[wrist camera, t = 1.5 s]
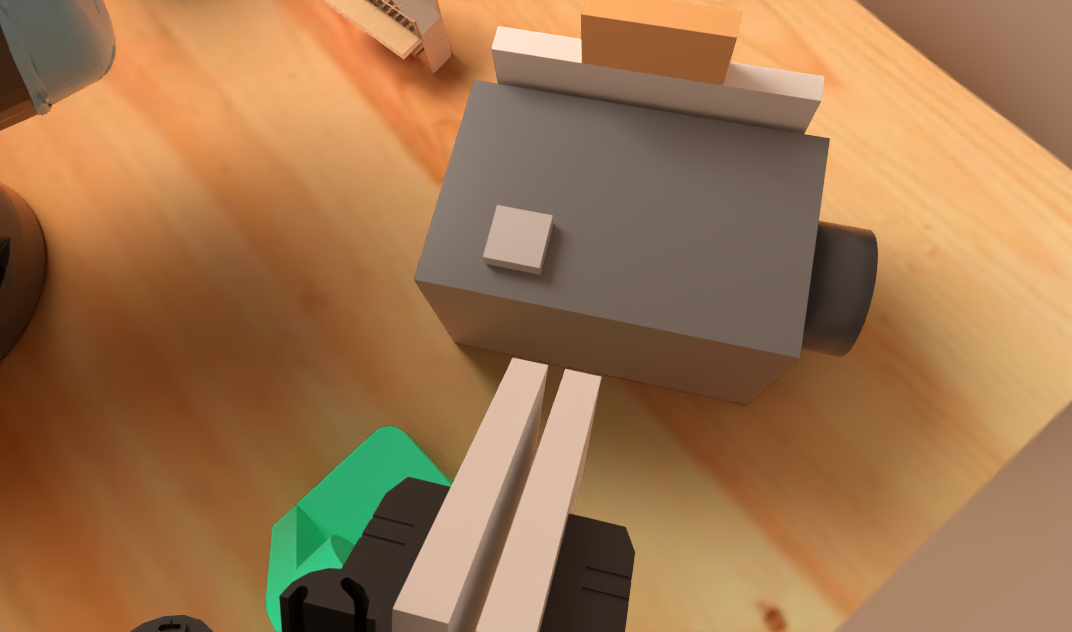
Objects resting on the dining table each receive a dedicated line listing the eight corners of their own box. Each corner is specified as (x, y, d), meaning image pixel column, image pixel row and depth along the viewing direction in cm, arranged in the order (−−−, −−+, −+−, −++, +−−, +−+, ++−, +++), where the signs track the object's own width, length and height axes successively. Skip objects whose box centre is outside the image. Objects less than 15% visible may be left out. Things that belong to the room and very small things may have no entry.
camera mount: (558, 597, 36) (547, 616, 26) (443, 715, 35) (388, 781, 25) (402, 425, 39) (341, 384, 30) (293, 527, 38) (191, 520, 28)
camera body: (805, 417, 38) (886, 369, 28) (454, 342, 40) (409, 272, 30) (827, 243, 41) (909, 140, 30) (498, 183, 43) (471, 69, 33)
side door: (757, 221, 41) (846, 53, 27) (515, 177, 43) (481, -1, 29) (760, 202, 41) (849, 27, 27) (520, 159, 43) (489, -26, 29)
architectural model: (419, 95, 46) (388, 12, 39) (342, 39, 48) (299, -50, 41) (455, 58, 47) (431, -29, 40) (378, 4, 48) (342, -89, 41)
